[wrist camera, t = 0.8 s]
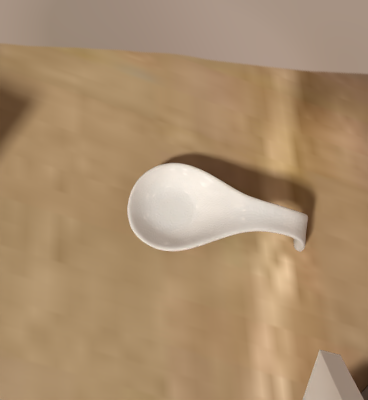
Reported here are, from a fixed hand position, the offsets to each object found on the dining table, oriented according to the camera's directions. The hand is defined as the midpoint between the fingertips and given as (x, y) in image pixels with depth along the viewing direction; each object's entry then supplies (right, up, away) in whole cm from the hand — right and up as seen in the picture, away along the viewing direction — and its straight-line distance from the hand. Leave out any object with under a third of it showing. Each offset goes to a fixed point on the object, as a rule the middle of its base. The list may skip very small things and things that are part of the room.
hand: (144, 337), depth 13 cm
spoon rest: (+6, +3, +34) cm, 34 cm away
